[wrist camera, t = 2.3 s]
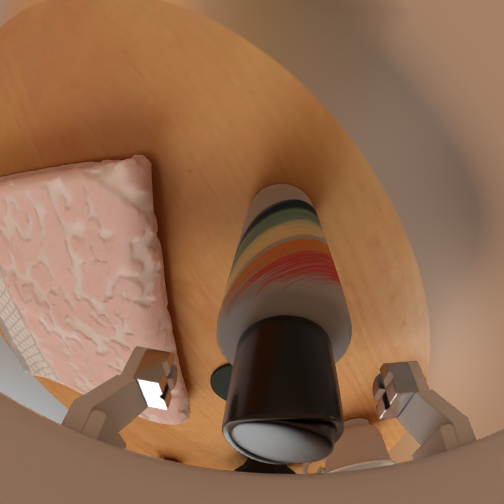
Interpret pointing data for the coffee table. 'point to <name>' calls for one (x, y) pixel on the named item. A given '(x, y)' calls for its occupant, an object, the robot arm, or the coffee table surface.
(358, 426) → the teacup
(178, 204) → the coffee table surface
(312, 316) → the lotion bottle
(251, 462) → the bowl
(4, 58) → the coffee table surface
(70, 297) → the towel
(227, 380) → the coaster
